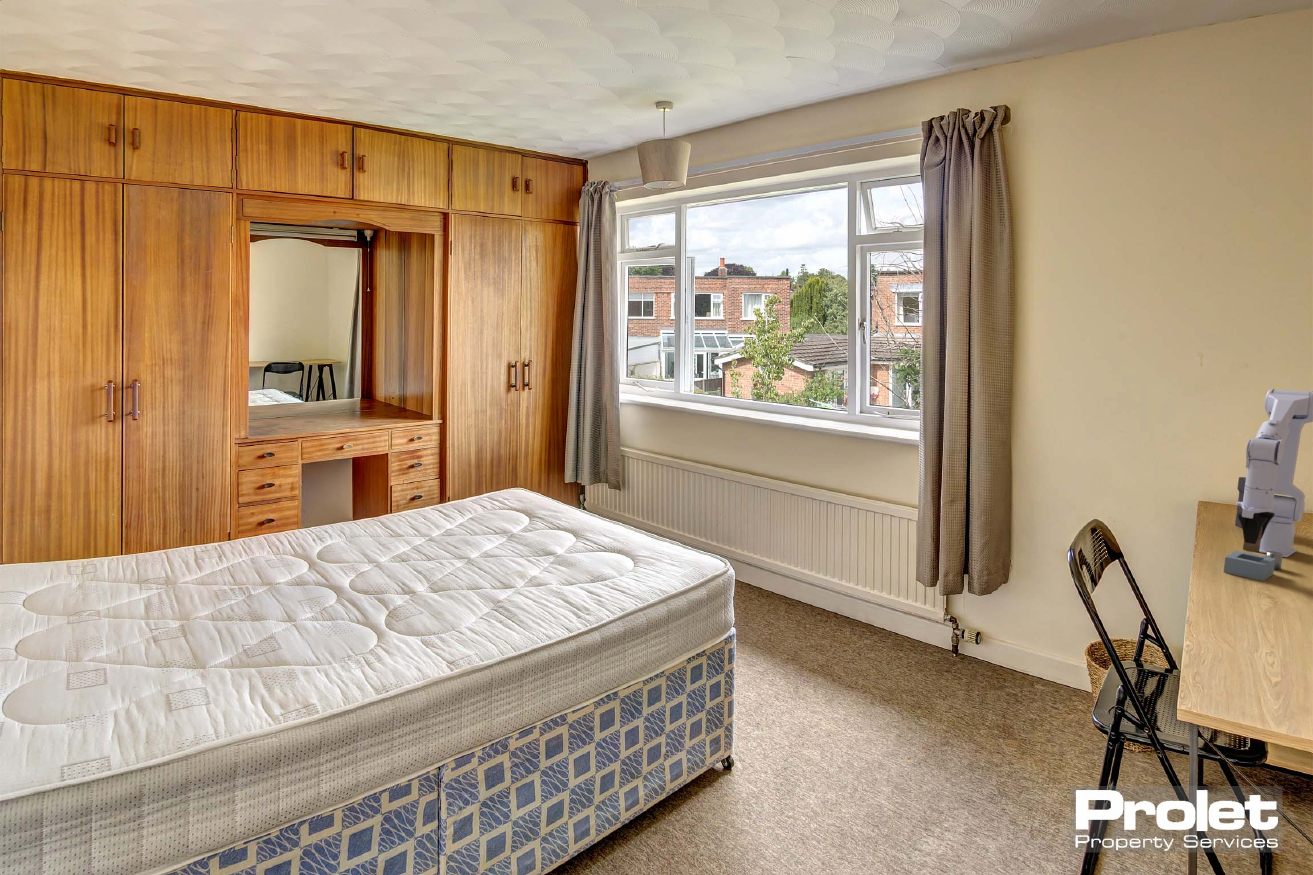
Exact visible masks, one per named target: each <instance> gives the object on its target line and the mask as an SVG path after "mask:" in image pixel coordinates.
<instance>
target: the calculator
mask: <svg viewBox="0 0 1313 875" xmlns="http://www.w3.org/2000/svg"><path fill="white" fill-rule="evenodd" d="M1245 482H1246V476H1245V477H1244V476H1240V477H1238V482H1237V487H1236V488H1237V490H1238V499H1237V502H1243V497H1244V489H1245ZM1236 506H1237V507H1236V513H1235V520H1234V521H1235V522H1234V523H1235V526H1236V527H1238V528H1241V529H1242V525H1241V522H1240V520H1239V518H1238V513H1240V512H1241V513H1242V512H1243V509H1242V507H1241V506H1238V505H1236Z"/></svg>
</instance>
